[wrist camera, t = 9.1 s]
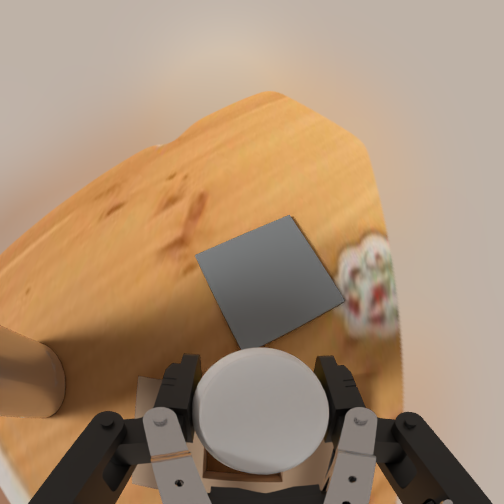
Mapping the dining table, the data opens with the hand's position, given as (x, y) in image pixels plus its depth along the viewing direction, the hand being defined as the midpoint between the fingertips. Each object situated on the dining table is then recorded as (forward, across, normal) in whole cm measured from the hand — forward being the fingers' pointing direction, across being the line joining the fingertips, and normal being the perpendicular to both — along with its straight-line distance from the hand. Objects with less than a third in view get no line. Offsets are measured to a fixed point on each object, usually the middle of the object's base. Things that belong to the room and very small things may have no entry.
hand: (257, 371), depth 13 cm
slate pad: (+19, -2, +3) cm, 19 cm away
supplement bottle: (+2, 0, +5) cm, 5 cm away
